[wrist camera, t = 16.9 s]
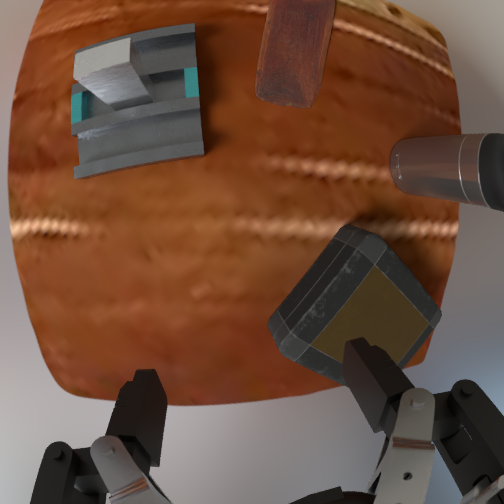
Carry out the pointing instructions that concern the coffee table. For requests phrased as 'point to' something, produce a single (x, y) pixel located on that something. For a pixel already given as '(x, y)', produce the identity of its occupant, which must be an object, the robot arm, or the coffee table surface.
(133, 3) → the coffee table surface
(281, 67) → the wooden tablet
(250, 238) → the coffee table surface
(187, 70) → the rack
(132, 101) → the panel
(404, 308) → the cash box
